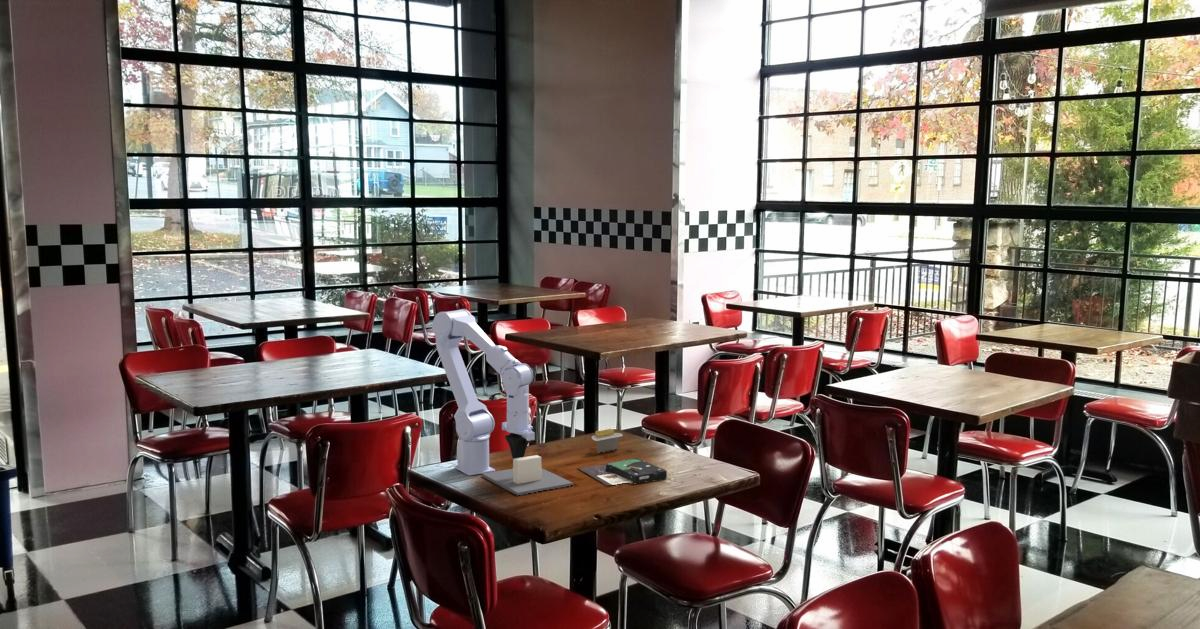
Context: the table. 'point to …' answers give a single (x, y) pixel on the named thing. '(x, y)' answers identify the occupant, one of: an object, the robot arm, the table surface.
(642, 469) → the disk drive
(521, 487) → the mat
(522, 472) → the tile
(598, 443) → the grey rimmed container
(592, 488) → the table surface
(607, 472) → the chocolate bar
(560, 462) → the table surface
